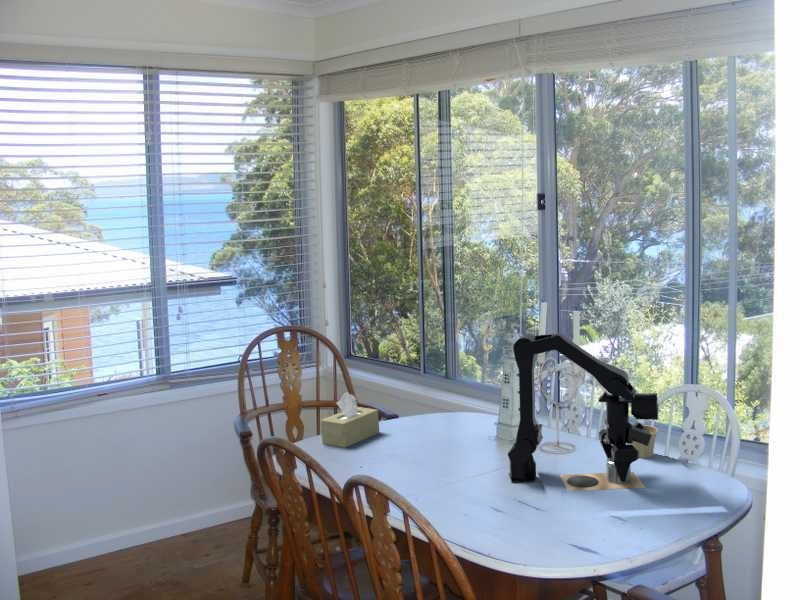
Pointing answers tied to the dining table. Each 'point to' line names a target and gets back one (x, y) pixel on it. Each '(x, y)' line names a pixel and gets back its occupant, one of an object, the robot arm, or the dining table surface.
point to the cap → (615, 473)
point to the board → (597, 482)
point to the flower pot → (648, 450)
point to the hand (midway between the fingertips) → (618, 475)
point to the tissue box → (349, 423)
